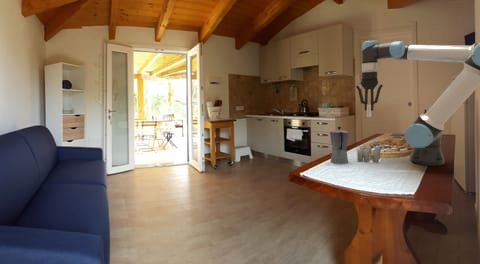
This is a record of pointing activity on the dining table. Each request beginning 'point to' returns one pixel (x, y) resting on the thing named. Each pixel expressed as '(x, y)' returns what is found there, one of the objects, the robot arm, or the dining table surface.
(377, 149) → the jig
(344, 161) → the moka pot
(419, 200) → the dining table surface
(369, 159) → the nut
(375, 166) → the dining table surface
